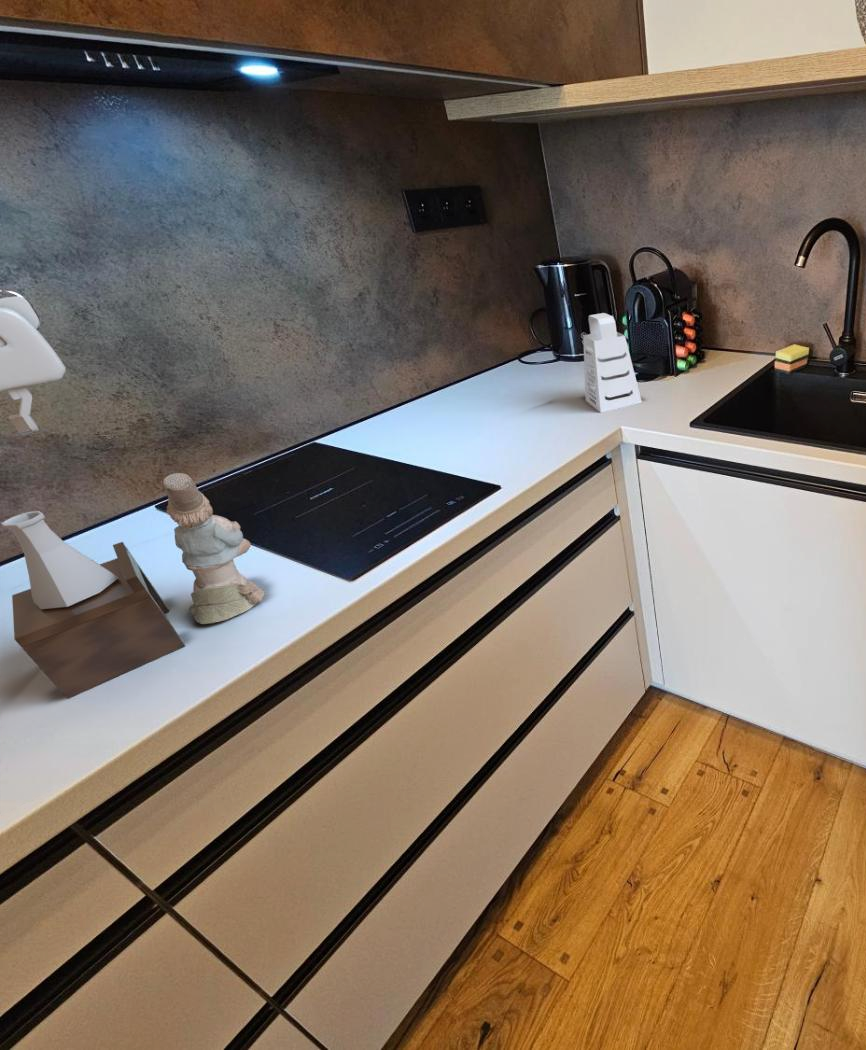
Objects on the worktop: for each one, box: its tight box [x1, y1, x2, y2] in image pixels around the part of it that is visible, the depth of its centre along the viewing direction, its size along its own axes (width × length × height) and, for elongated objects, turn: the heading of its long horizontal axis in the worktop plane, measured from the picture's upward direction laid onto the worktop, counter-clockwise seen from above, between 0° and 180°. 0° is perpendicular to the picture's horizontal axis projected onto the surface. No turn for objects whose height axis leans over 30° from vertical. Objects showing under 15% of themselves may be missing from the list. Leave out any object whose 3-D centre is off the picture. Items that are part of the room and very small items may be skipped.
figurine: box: [162, 472, 266, 625], centre depth 74 cm, size 9×8×20 cm
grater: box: [582, 312, 643, 414], centre depth 136 cm, size 10×10×20 cm
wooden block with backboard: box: [11, 541, 186, 700], centre depth 70 cm, size 11×12×11 cm
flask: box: [0, 510, 118, 609], centre depth 66 cm, size 7×7×10 cm
